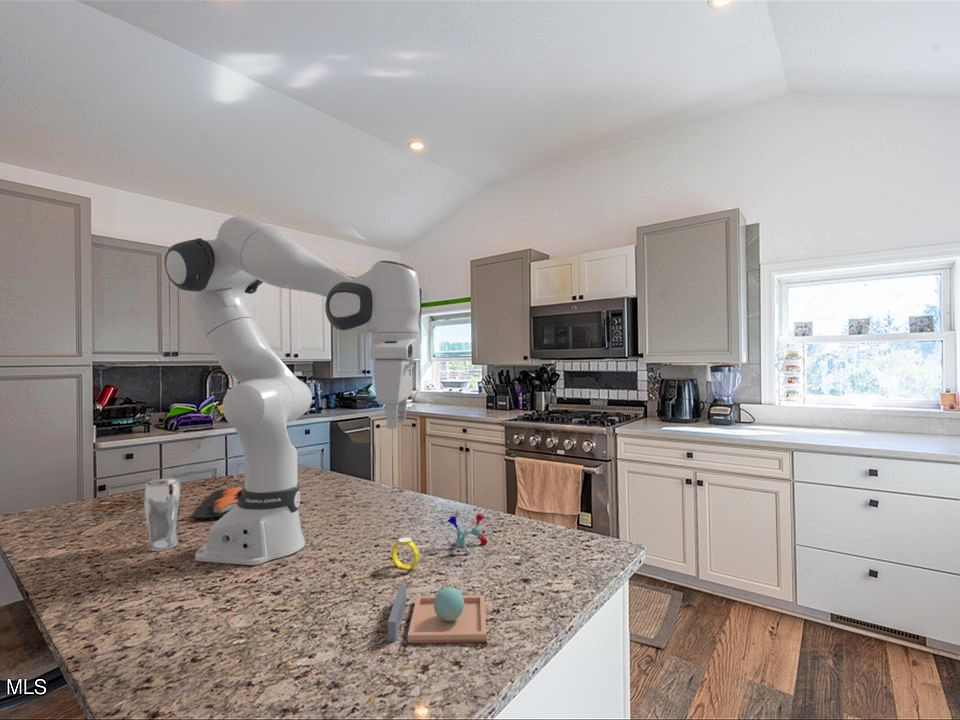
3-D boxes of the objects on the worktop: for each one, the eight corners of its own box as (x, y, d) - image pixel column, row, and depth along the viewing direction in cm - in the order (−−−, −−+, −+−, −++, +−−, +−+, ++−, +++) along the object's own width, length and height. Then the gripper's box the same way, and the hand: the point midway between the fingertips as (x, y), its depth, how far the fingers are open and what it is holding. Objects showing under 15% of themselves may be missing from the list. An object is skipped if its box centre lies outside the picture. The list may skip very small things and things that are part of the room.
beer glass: (187, 543, 112) (187, 479, 112) (156, 554, 106) (156, 487, 106) (168, 538, 115) (168, 476, 115) (137, 549, 109) (137, 483, 109)
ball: (432, 628, 76) (432, 598, 75) (435, 609, 81) (434, 581, 80) (464, 627, 76) (463, 597, 75) (464, 609, 81) (464, 580, 80)
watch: (390, 569, 99) (388, 540, 99) (398, 564, 101) (396, 535, 101) (414, 572, 96) (412, 542, 96) (421, 567, 98) (420, 538, 99)
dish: (407, 643, 72) (407, 635, 72) (416, 602, 84) (416, 596, 84) (486, 642, 72) (486, 634, 72) (484, 601, 84) (484, 595, 84)
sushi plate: (214, 495, 154) (214, 484, 154) (312, 488, 163) (312, 476, 163) (189, 525, 126) (189, 511, 126) (309, 514, 135) (309, 500, 135)
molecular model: (485, 544, 102) (467, 500, 106) (448, 563, 103) (432, 519, 107) (501, 541, 112) (485, 501, 116) (467, 558, 114) (452, 518, 118)
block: (387, 641, 73) (387, 621, 73) (399, 601, 85) (399, 584, 85) (395, 641, 73) (395, 621, 73) (406, 601, 85) (406, 584, 85)
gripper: (388, 350, 98) (389, 417, 98) (367, 348, 77) (367, 433, 77) (419, 350, 98) (419, 417, 98) (406, 348, 78) (406, 432, 78)
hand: (396, 424), depth 88 cm, fingers open, 8 cm apart
